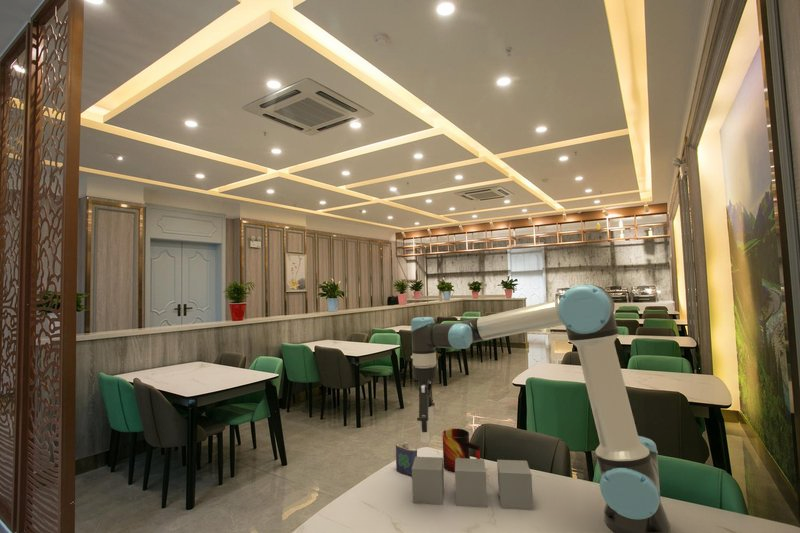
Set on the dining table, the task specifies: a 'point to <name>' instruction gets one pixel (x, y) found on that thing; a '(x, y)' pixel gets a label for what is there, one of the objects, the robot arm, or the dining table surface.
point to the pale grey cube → (515, 484)
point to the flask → (405, 458)
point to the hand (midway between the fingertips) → (427, 434)
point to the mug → (457, 447)
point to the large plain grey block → (428, 480)
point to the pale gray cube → (470, 482)
